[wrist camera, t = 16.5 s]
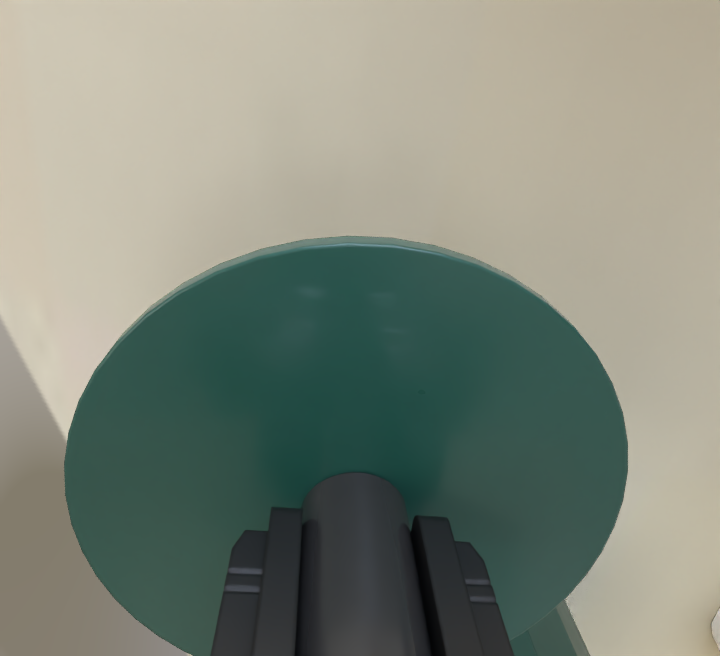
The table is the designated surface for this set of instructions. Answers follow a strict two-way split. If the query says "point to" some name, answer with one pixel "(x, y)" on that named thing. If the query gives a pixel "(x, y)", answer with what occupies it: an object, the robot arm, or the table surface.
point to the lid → (345, 441)
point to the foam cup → (716, 628)
